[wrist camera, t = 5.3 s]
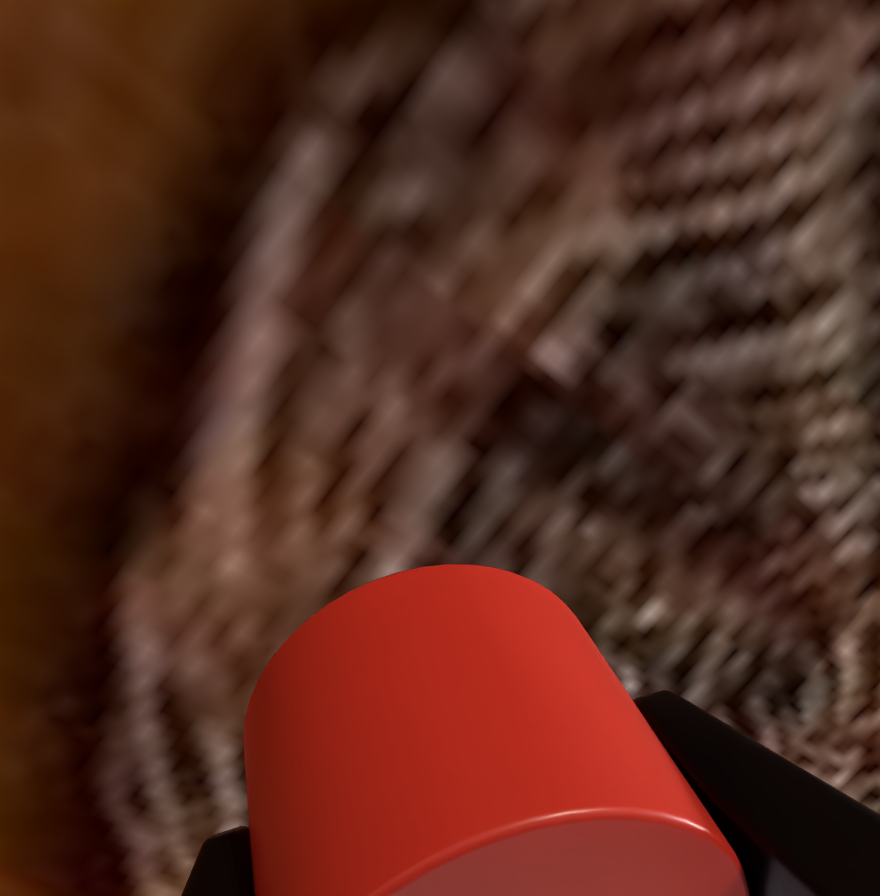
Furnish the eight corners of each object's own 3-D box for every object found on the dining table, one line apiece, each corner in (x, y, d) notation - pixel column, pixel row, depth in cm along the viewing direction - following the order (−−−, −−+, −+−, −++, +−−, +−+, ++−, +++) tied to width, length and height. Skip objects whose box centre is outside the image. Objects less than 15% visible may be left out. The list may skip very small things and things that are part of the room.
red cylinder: (580, 517, 9) (765, 743, 6) (598, 778, 10) (744, 1042, 8) (196, 624, 8) (196, 937, 5) (290, 883, 10) (327, 1215, 7)
